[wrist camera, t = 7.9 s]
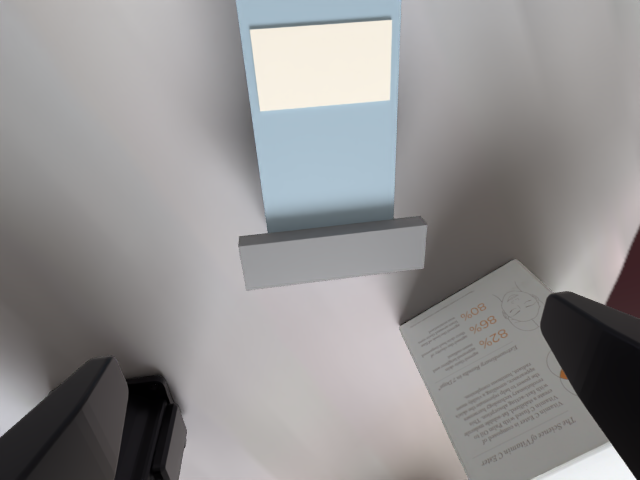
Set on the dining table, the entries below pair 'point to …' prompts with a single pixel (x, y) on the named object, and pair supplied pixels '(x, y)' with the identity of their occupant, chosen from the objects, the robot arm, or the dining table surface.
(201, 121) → the dining table surface
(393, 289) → the dining table surface
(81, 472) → the robot arm
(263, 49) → the blue notched block
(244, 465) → the dining table surface
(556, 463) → the small box
